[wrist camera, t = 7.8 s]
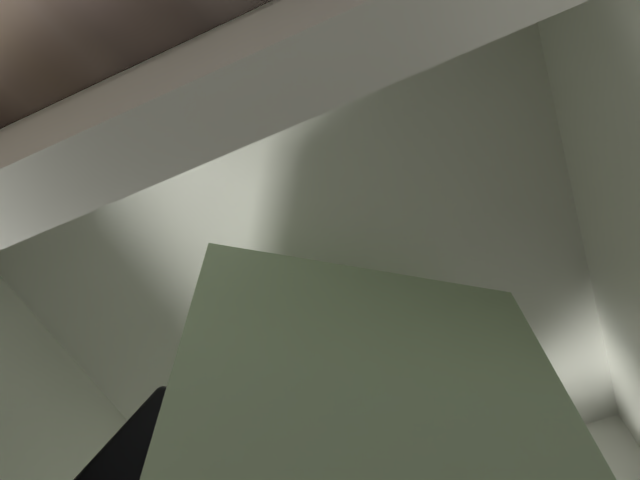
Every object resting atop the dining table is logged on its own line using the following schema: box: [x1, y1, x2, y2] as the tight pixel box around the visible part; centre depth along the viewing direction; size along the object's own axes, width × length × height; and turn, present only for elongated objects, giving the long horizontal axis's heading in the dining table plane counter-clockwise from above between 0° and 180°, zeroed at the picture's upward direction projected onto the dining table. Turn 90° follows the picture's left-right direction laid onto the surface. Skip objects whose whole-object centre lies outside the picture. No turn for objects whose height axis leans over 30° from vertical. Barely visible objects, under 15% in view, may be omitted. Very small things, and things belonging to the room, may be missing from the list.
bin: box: [0, 0, 640, 480], centre depth 10 cm, size 12×12×4 cm
